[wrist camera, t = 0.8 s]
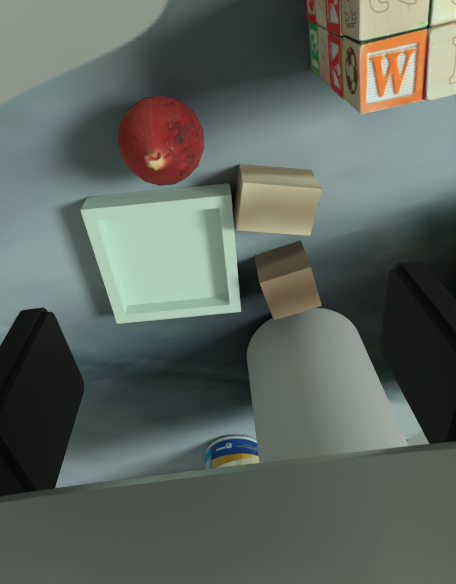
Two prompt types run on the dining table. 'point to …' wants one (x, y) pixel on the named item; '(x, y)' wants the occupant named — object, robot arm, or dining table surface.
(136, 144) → the red round fruit
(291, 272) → the walnut block
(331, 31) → the stack of blocks
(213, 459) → the beverage bottle
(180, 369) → the dining table surface
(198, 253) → the dish
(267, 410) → the cylinder vase
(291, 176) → the beech block
